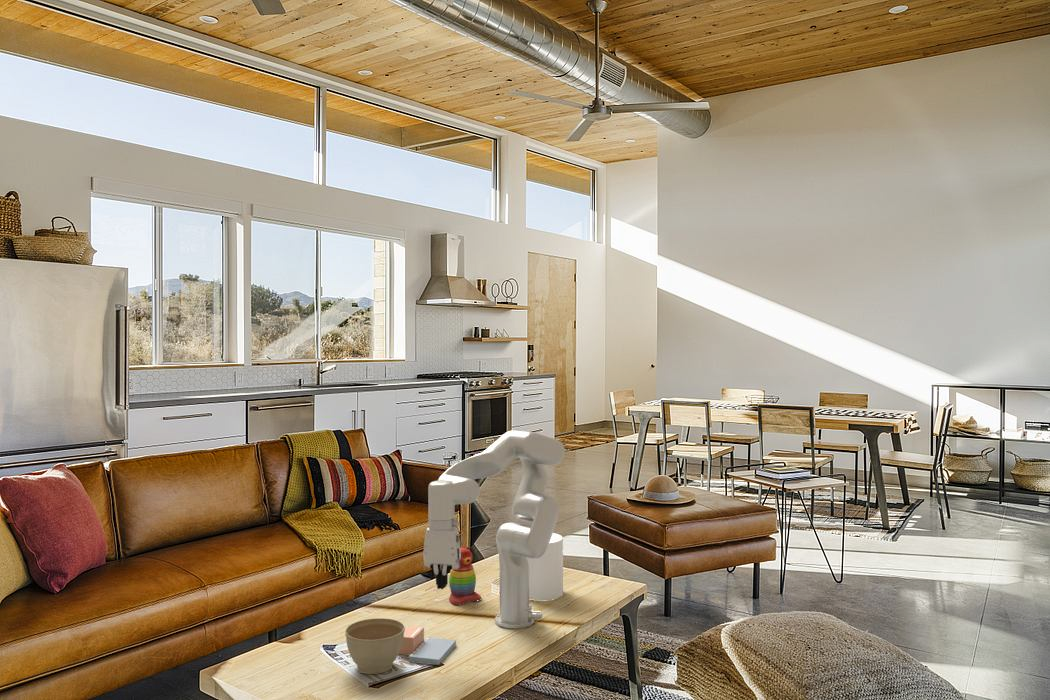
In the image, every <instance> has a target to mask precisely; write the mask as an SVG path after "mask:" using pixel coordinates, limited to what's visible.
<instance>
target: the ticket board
mask: <svg viewBox="0 0 1050 700" xmlns="http://www.w3.org/2000/svg"><path fill="white" fill-rule="evenodd" d="M456 645H457V640H456V639H450V638H449V639H448V638H440V637H429V636H428V637H426V638H424V641H423V642H422V643H421V644H420V645H419V647H418V648H417V649H416V650H415V651H414V652H413V653H412V654H411V655H408V662H410V663H417V664H427V665H437V666H439V665H440V664H442V662H443V661H444V660H445V659H446V657H447V656H448V655H449V654H450V653H451V652H452V650H453V649H454V648H455V647H456Z"/></svg>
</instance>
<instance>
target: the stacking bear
mask: <svg viewBox="0 0 1050 700" xmlns="http://www.w3.org/2000/svg"><path fill="white" fill-rule="evenodd" d="M460 550H461V558H460V560H459V563H460V567H459V568H457V569H452V570H450V571H449V575H448V576H449V577H448V586H449V590H450V594H449V599H448V600H449V602H450V604H452V605H453V604H454V606H460V605H459V604H462V605H464V604H466V603H465V602H467V603H469V602H468V601H477V600H480V599H481V600H482V597H481V595H480V594H479V593H477V592H476V591H475V590H476V583H477V576H476V572H475V569H474V566H473V564H472V562H473V558H474V557H473V556H474V555H473V554H472V553H473V552H471V551H472V550H471V548H470V547H469V546H466V547H460ZM481 600H480V601H481ZM463 603H464V604H463Z"/></svg>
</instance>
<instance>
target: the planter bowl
mask: <svg viewBox="0 0 1050 700" xmlns="http://www.w3.org/2000/svg"><path fill="white" fill-rule="evenodd" d="M405 629H406V626H405V624H404V623H403V622H401V621H400V620H397V619H392V618H386V617H385V618H382V617H381V618H380V617H379V618H368V619H367V618H365V619H362V620H359V621H355V622H353V623H351V624H349V625H348V626H347V627H346V628H345V632H344V633H345V637H346V638H345V639H346V646H347V650H348V654H349V655H350V658H351V660H353V662H354V663H355V665H356V668H357V670H358V671H359V672H360V673H363V674H367V675H368V674H369V675H376V674H383V673H386V672H388V671H390V670H391V669H392V668H393V664H394V662H395V660H396V659H397V658H398V656H399V655H400V654H399V652H400V650H401V647H402V644H403V639H404V631H405Z"/></svg>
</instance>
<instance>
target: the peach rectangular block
mask: <svg viewBox="0 0 1050 700" xmlns="http://www.w3.org/2000/svg"><path fill="white" fill-rule="evenodd" d="M424 640H425V628H424V627H421V626H410V625H408V626H407V627H405V631H404V639H403V644H402V647H401V650H400V652H399V654H398V655H406V656H410V655H411V654H412V653H413V652H414V651H415V650H416V649H417V648H418V647H419V645H420V644H421V643H422V642H423V641H424Z"/></svg>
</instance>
